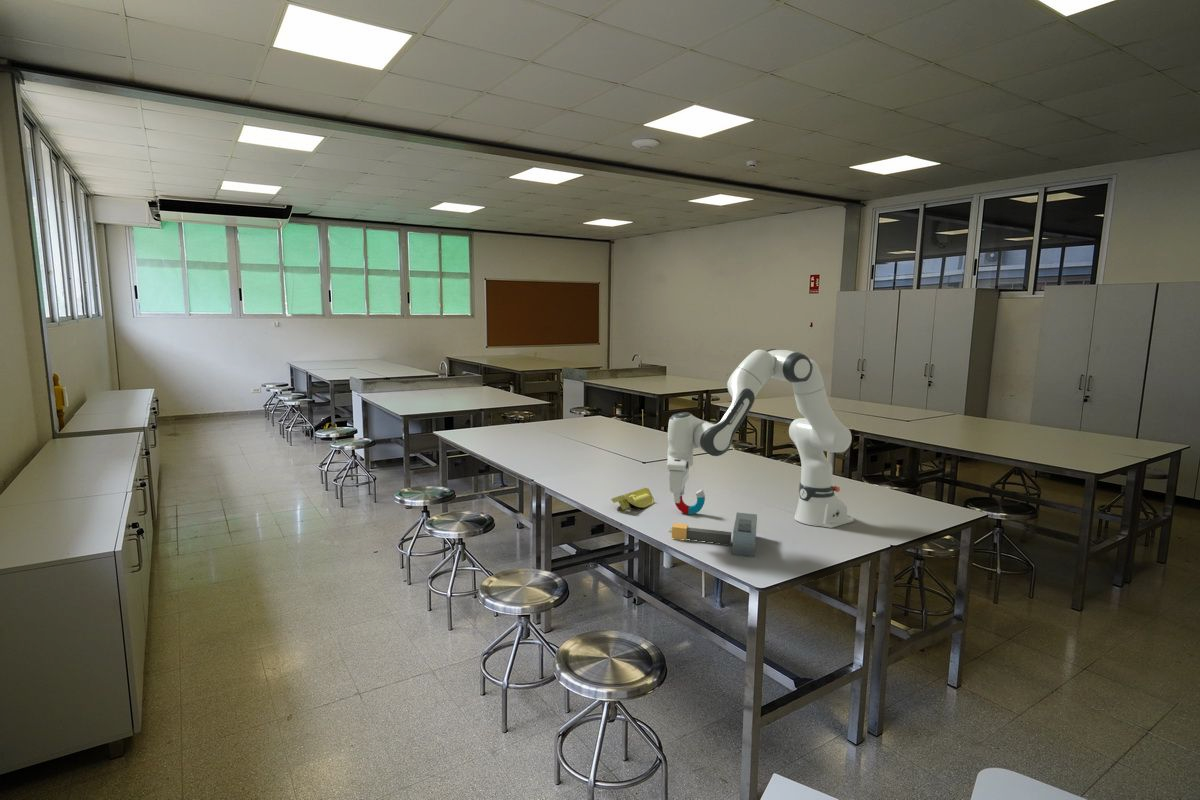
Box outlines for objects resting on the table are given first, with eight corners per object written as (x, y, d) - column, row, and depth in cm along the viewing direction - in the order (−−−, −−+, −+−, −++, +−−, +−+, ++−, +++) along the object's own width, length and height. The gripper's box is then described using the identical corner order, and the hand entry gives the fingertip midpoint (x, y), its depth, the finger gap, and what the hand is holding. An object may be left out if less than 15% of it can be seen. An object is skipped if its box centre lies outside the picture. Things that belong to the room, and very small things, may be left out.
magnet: (704, 514, 237) (705, 489, 236) (703, 516, 235) (704, 491, 233) (674, 510, 241) (675, 486, 239) (673, 512, 238) (674, 488, 237)
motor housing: (756, 536, 213) (757, 507, 212) (754, 557, 194) (755, 526, 193) (735, 534, 215) (737, 505, 214) (732, 554, 196) (733, 523, 195)
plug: (731, 541, 208) (731, 529, 207) (730, 546, 204) (730, 533, 203) (670, 534, 214) (670, 522, 213) (668, 538, 210) (668, 526, 209)
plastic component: (630, 492, 257) (650, 486, 252) (636, 509, 256) (655, 503, 251) (606, 500, 240) (626, 493, 235) (612, 518, 239) (632, 511, 234)
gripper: (675, 452, 218) (675, 489, 220) (666, 466, 199) (665, 506, 201) (693, 453, 217) (692, 490, 218) (685, 467, 197) (684, 508, 199)
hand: (679, 498), depth 209 cm, fingers open, 8 cm apart
